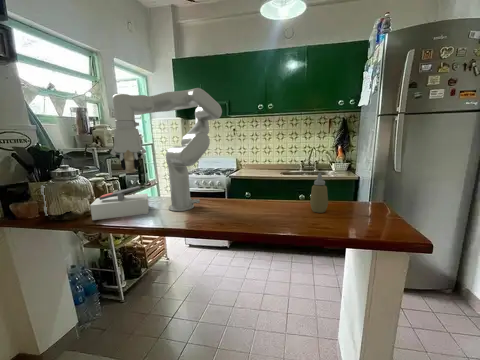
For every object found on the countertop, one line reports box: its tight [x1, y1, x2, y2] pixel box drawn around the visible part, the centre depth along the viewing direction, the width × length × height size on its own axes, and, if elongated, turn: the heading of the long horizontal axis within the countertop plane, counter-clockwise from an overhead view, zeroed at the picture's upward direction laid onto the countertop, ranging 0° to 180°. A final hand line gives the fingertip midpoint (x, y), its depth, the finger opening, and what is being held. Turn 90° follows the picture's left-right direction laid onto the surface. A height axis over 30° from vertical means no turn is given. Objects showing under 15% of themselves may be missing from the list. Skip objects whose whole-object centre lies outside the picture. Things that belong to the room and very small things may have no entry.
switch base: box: [89, 189, 150, 221], centre depth 120 cm, size 24×14×11 cm, turn 110°
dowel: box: [124, 150, 137, 176], centre depth 104 cm, size 4×4×12 cm
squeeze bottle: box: [309, 172, 329, 214], centre depth 112 cm, size 8×8×18 cm
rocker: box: [98, 185, 141, 200], centre depth 119 cm, size 18×5×1 cm, turn 110°
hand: (130, 168), depth 105 cm, fingers closed on dowel, 4 cm apart
